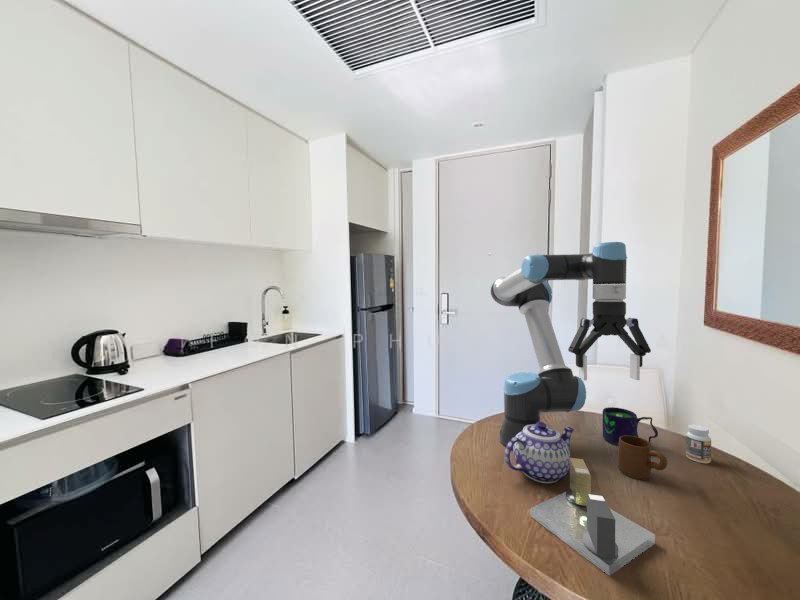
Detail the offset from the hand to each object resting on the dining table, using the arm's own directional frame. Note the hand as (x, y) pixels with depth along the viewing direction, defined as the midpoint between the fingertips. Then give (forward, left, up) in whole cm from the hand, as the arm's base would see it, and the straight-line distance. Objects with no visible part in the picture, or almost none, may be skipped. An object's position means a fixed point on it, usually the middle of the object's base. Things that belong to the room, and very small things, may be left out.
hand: (608, 379), depth 87 cm
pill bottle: (+6, +36, -29) cm, 47 cm away
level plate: (+8, -21, -29) cm, 36 cm away
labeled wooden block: (+2, -16, -27) cm, 31 cm away
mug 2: (+3, +11, -29) cm, 31 cm away
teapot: (-12, -12, -29) cm, 34 cm away
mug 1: (-10, +29, -29) cm, 42 cm away
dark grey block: (+14, -26, -27) cm, 40 cm away
